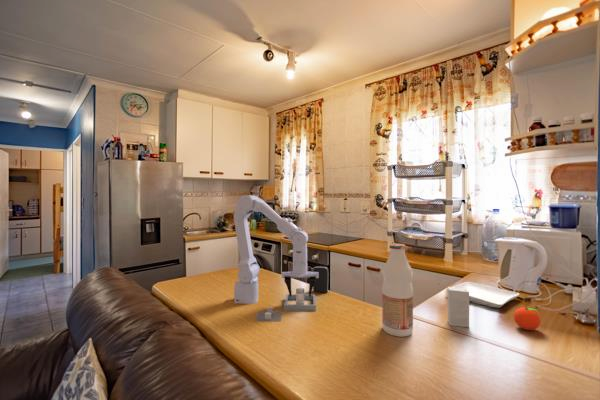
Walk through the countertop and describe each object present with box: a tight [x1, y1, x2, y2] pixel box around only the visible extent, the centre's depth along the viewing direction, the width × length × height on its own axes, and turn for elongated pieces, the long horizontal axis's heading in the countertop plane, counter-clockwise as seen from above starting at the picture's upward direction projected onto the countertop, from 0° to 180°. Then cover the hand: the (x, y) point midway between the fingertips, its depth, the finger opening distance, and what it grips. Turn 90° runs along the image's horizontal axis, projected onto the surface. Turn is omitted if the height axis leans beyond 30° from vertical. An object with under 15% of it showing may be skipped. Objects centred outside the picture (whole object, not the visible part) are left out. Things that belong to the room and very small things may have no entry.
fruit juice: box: [381, 243, 414, 337], centre depth 95 cm, size 9×9×28 cm
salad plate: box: [445, 281, 520, 308], centre depth 124 cm, size 21×21×3 cm
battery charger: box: [312, 265, 329, 294], centre depth 133 cm, size 7×4×11 cm, turn 79°
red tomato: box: [513, 306, 543, 331], centre depth 95 cm, size 8×7×7 cm
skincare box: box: [446, 286, 470, 328], centre depth 99 cm, size 6×4×12 cm
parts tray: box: [283, 293, 317, 312], centre depth 116 cm, size 12×12×3 cm
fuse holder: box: [254, 306, 283, 322], centre depth 105 cm, size 9×9×3 cm
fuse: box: [295, 287, 305, 305], centre depth 115 cm, size 3×3×6 cm
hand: (300, 295), depth 116 cm, fingers open, 7 cm apart
